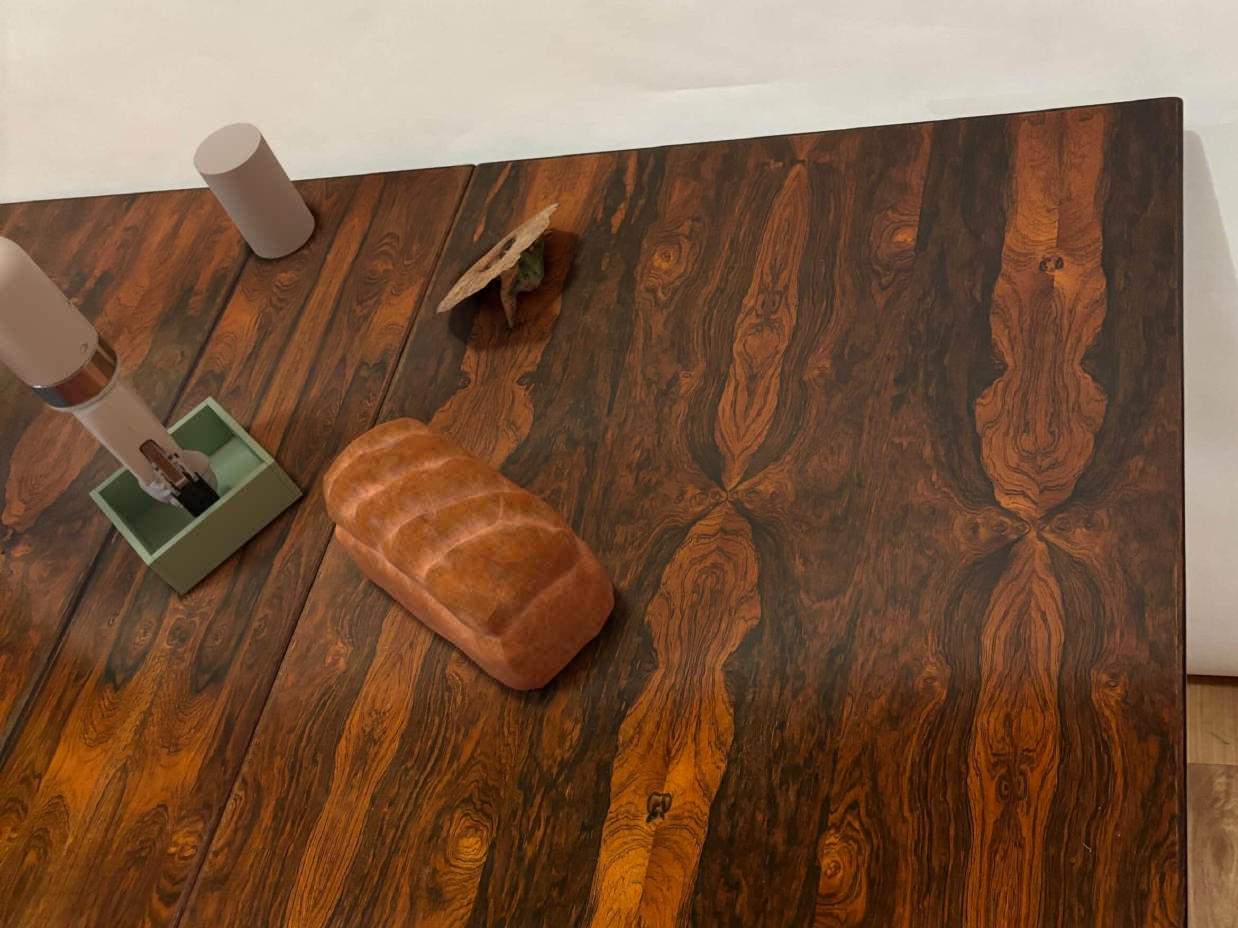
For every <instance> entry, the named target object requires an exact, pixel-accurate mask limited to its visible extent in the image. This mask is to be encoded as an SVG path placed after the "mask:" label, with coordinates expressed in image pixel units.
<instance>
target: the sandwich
mask: <svg viewBox="0 0 1238 928" xmlns="http://www.w3.org/2000/svg"><path fill="white" fill-rule="evenodd" d="M560 206H561V203H560V202H555V203H552V204H549V205H548V206H546V207H545V208H544V209H542V210H541V211H539V212H537V213H536V214H535V215H534V216H532V217H530V218H529V219H528V220H526V221H525V222H523V223H521V224H520V225H519V226H517V227H516V228H514V230H513V231H511V232H510V233H509V234H507V235H506V236H505V237H503V238H502V239H501V240H500V241H499V242H497V243H496V244H495V246H493V247H492V248H491V250H489V251H488V252H487V253H486V254H485V255H484V256H482V257H481V258H480V259H479V260H478V261H477V262H475V263H474V264H473V265H472V266H471V267H470V268H469V269H468V270H467V271H466V272H465V273H464V274H463V275H462V276H461V277H460V278H459V279H458V281H457V282H456V283H455V284H454V285H453V286H452V288H451V290H450V291H448V293H447V294H446V296H445V297H444V299H443V300H441V302H440V303H439V304H438V306H437V308H436V313H444V312H446V311H449V310H451V309H452V308H453V307H455V306H456V305H457V304H459V303H460V302H461V301H462V300H464V299H466V298H468V297H471V296H472V295H473V294H475V293H477V292H478V291H480V290H482V289H483V288H485V287H486V286H487V285H488V283H490V281H491V280H492V279H496V280H498V281H501V285H500V298H501V299H500V300H501V304H502V308H503V311H504V315H505V317H506V319H507V321H508V327H509V328H510V329H512V328H513V327H514V326H515V321H516V315H515V314H516V313H515V312H516V308H517V294H518V293H519V292H531V291H534V290H536V289H538V288H539V287H540V286H541V283H542V279H543V278H544V274H545V273H544V267H545V266H544V256H543V255H544V254H543V253H544V244H545V241H544V239H541V240H539V237H540V236H541V235H542V238H547V237H551V236H553V235H554V231H552V230H546V229H547V228H548V227H549V224H550V223H551V221H550V218H549V217H550V216H551V215H552V214H553V213H554V211H556V210H557V209H558V207H560ZM544 230H546V231H544ZM533 243H534V245H535V246H533ZM526 249H528V250H527V252H526V251H525V250H526Z"/></svg>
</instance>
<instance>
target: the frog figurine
mask: <svg viewBox="0 0 1238 928" xmlns="http://www.w3.org/2000/svg"><path fill="white" fill-rule="evenodd" d="M182 451H183V457H182V459H181V458H180V457H179V458H180V459H181V460H182V461H183V462H184V463H185V464H186V465H187V466H188V467H189V468H190V469H191V471H192V472H193V473H195V472H197V473H198V474H199V475H200V476H201V477H202V478H203V479H204V480H205V481H206V482H207V484H208V485H209V486H210V487H211V488H212V489H213V490H214V491H215V492H216V493H217V490H218V482H217V478H216V475H215V474H214V472H213V470H212V469H211V468H210V467H209V466H210V465H211V460H210V459H209V458H208V457H207V456H206V455H205V454H203V453H201V452H199V451H187V450H182ZM164 455H165V456H166V457H169V456H170V455H171V454H170V453H168V452H166V453H164ZM151 465H152V466H153V467H154V468H155V467H156V465H155V463H154V462H153V463H152V464H151ZM174 465H175V466H176V467H177V468H178V469H179V470H180V471H181V472H183V471H184V470H183V469H182V468H181V467H180V466H179V465H178V464H177V463H175V464H174ZM184 472H185V471H184ZM163 475H164V476H165V477H166V478H167V479H168V480H169V481H171V480H170V479H169V478H168V477H167V476H166V475H165V474H164V473H163ZM155 478H156V480H154V481H153V482H152V483H151V484H150V485H144V484H142V483H141V482H140V481H139V480H138V482H139V485H140V486H141V488H142V489H144V490H145V491H146V492H147V493H148V494H150V495H151V496H152V497H154V498H155V499H157V500H159V501H161V502H165V503H169V502H171V504H173V505H175V506H180V507H181V508H182V509H183V508H184V507H183V506H182V505H181V504H180V503H179V502H178V501H177V500H176V499H175V498H174V497H173V496H172V495H171V494H170V492H171V490H170V489H169V488H168V487H167V486H166V485H165V484H164V483H163V482H162V481H161V480H160V479H159V478H158V477H157V476H155Z"/></svg>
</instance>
